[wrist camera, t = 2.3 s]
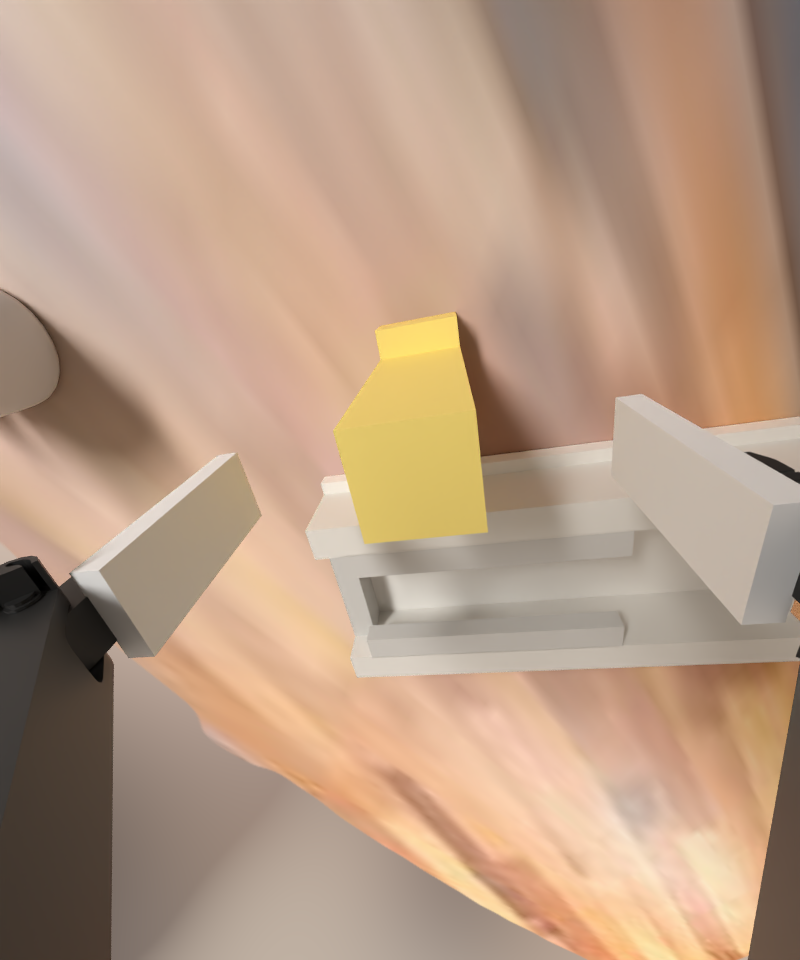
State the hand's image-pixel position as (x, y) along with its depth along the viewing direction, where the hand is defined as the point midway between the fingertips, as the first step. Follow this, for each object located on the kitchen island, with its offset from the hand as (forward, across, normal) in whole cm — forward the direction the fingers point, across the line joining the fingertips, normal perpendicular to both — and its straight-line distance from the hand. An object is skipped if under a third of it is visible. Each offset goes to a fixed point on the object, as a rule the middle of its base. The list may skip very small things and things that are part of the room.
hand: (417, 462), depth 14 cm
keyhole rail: (+10, +6, -12) cm, 16 cm away
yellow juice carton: (+10, 0, 0) cm, 10 cm away
